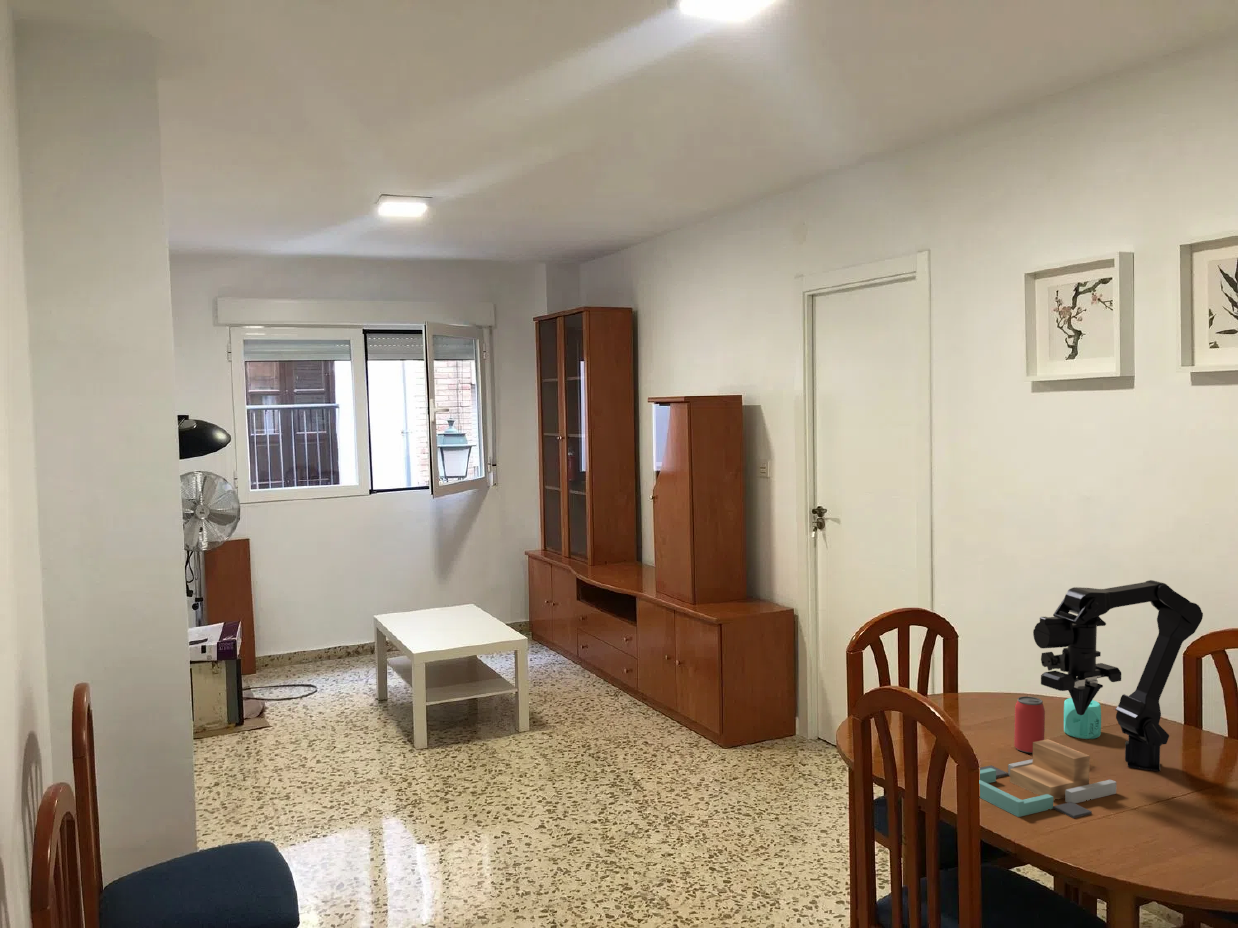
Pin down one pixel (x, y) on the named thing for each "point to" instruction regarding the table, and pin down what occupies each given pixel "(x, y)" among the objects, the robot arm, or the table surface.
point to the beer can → (1028, 723)
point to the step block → (1052, 770)
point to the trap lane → (1039, 802)
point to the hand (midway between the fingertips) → (1080, 714)
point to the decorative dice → (1082, 720)
